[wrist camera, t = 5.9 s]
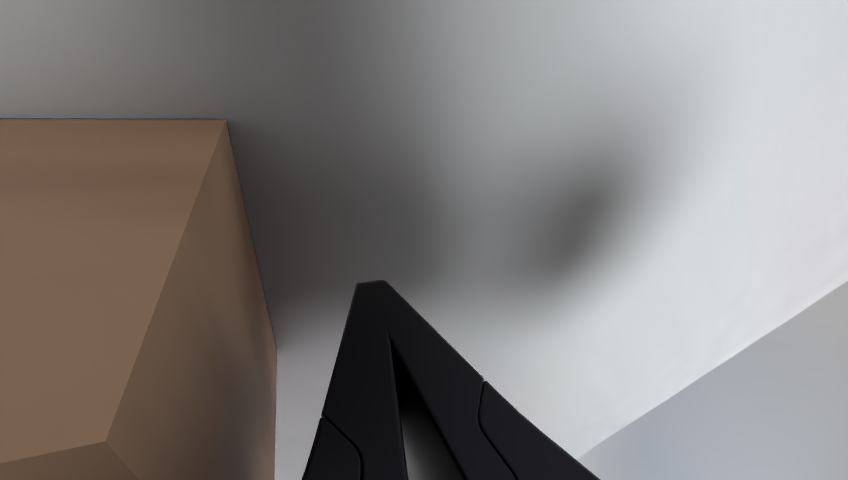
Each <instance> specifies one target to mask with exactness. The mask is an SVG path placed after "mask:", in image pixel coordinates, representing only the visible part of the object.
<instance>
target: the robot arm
mask: <svg viewBox="0 0 848 480" xmlns="http://www.w3.org/2000/svg"><path fill="white" fill-rule="evenodd" d="M321 416H322V418H320V421H319V424H318V428H317V432H316V435H315V439H314V442H313V446H312V449H311V452H310V456H309V459H308V462H307V465H306V469H305V472H304V474H303V477H302V480H600V479H599V478H598V477H596V476H595V475H594V474H593V473H592V472H590V471H589V470H588V469H587V468H585V467H584V466H583V465H582V464H581V463H579V462H578V461H577V460H576V459H574V458H573V457H572V456H571V455H570V454H568V453H567V452H566V451H565V450H563V449H562V448H561V447H560V446H559V445H557V444H556V443H555V442H554V441H552V440H551V439H550V438H549V437H548V436H546V435H545V434H544V433H543V432H542V431H540V430H539V429H538V428H537V427H536V426H534V425H533V424H532V423H531V422H530V421H529V420H527V419H526V418H525V417H524V416H523V415H522V414H520V413H519V412H518V411H517V410H516V409H515V408H514V407H513V406H512V405H511V404H510V403H509V402H508V401H507V400H506V399H504V398H503V397H502V396H501V395H500V394H499V393H498V392H497V391H496V390H495V389H494V388H493V387H492V386H491V385H490V384H489V383H488V382H487V381H484V378H483V377H482V376H481V375H480V374H479V373H478V372H477V371H476V370H475V369H474V368H473V367H472V366H471V365H470V364H469V363H468V362H467V361H466V360H465V359H464V358H463V357H462V356H461V355H460V354H459V353H458V352H457V351H456V350H455V349H454V348H453V347H452V346H451V345H450V344H449V343H448V342H447V341H446V340H445V339H444V338H443V337H442V336H441V335H440V334H439V333H438V332H437V331H436V330H435V329H434V328H433V327H432V326H431V325H430V324H429V323H428V322H427V321H426V320H425V319H424V318H423V317H422V316H421V315H420V314H419V313H418V312H417V311H416V310H415V309H414V308H413V307H412V306H411V305H410V304H409V303H408V302H407V301H406V300H405V299H404V298H403V297H401V296H400V295H399V294H398V293H397V292H396V291H395V290H394V289H393V288H392V287H391V286H390V285H389V284H388V283H387V282H386V281H385V280H377V281H369V282H361V283H357V285H356V287H355V291H354V295H353V299H352V302H351V306H350V310H349V313H348V317H347V321H346V325H345V328H344V332H343V336H342V340H341V343H340V347H339V351H338V355H337V358H336V362H335V366H334V369H333V373H332V377H331V381H330V384H329V388H328V392H327V396H326V399H325V403H324V407H323V410H322V414H321Z"/></svg>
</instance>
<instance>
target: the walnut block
mask: <svg viewBox="0 0 848 480" xmlns="http://www.w3.org/2000/svg"><path fill="white" fill-rule="evenodd" d="M276 376H277V350H276V345H275V341H274V336H273V332H272V327H271V323H270V318H269V314H268V309H267V304H266V300H265V295H264V291H263V286H262V282H261V277H260V273H259V268H258V264H257V259H256V254H255V250H254V245H253V241H252V236H251V232H250V227H249V223H248V218H247V214H246V209H245V205H244V200H243V195H242V191H241V186H240V182H239V177H238V173H237V168H236V164H235V159H234V155H233V150H232V145H231V141H230V136H229V132H228V127H227V123H226V120H200V119H0V480H274V466H275V421H276Z"/></svg>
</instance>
